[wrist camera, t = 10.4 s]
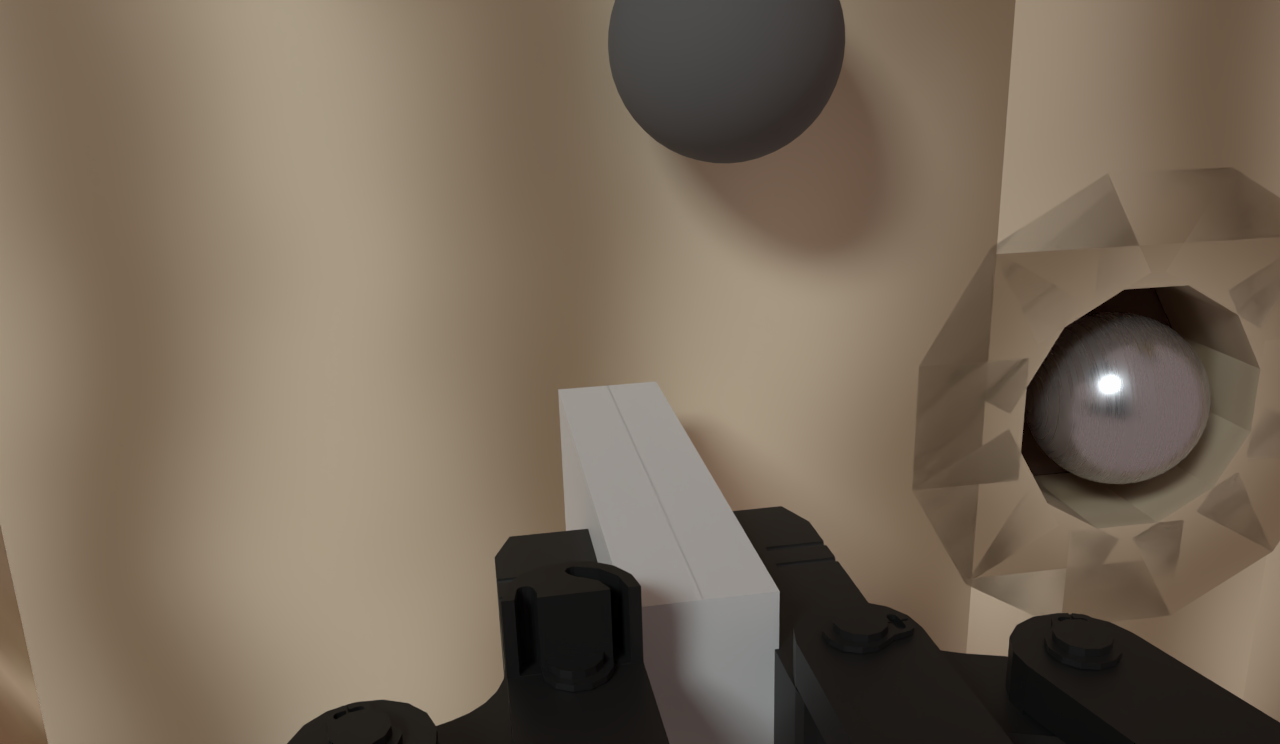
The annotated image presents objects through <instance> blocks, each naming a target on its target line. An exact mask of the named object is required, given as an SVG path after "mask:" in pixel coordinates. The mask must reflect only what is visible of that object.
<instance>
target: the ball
mask: <svg viewBox="0 0 1280 744" xmlns="http://www.w3.org/2000/svg"><path fill="white" fill-rule="evenodd" d="M844 51H845V23H844V17H843V10H842V7H841V3H840V0H615V2H614V6H613V9H612V13H611V17H610V24H609V30H608V53H609V63H610V68H611V72H612V77H613V80H614V83H615V85H616V88H617V91H618V93H619V95H620V97H621V99H622V101H623V103H624V105H625V107H626V108H627V110H628V111H629V113H630V114H631V116H632V117H633V119H634V120H635V121H636V122H637V123H638V124H639V125H640V126H641V127H642V129H643V130H644V131H645V132H646V133H647V134H649V135H650V136H651V137H652V138H653V139H654V140H656V141H657V142H658V143H660V144H662V145H663V146H665V147H666V148H668V149H669V150H671V151H674V152H676V153H678V154H680V155H682V156H685V157H688V158H692V159H695V160H699V161H705V162H711V163H738V162H745V161H749V160H753V159H757V158H760V157H763V156H765V155H768V154H770V153H773V152H775V151H777V150H779V149H781V148H782V147H784V146H786V145H788V144H789V143H791V142H792V141H793V140H795V139H796V138H797V137H799V136H800V135H801V134H802V133H803V132H804V131H805V130H806V129H807V128H808V127H810V126H811V124H812V123H813V122H814V121H815V120H816V118H817V117H818V116H819V115H820V114H821V112H822V110H823V109H824V107H825V106H826V104H827V103H828V101H829V99H830V97H831V95H832V93H833V91H834V89H835V87H836V84H837V81H838V78H839V75H840V72H841V68H842V63H843V59H844Z"/></svg>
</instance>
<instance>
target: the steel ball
mask: <svg viewBox="0 0 1280 744" xmlns="http://www.w3.org/2000/svg"><path fill="white" fill-rule="evenodd" d="M1210 403H1211V394H1210V386H1209V381H1208V377H1207V374H1206V371H1205V369H1204V366H1203V364H1202V362H1201V360H1200V358H1199V356H1198V355H1197V353H1196V352H1195V351H1194V349H1193V348H1192V347H1191V345H1190V344H1189V343H1188V342H1187V341H1186V340H1185V339H1184V338H1183V337H1182V336H1180V335H1179V334H1178V333H1177V332H1176V331H1174V330H1173V329H1171V328H1170V327H1168V326H1166V325H1165V324H1163V323H1161V322H1159V321H1156V320H1154V319H1152V318H1149V317H1145V316H1142V315H1138V314H1133V313H1127V312H1107V313H1098V314H1094V315H1090V316H1086V317H1083V318H1081V319H1078V320H1075V321H1074V322H1072V323H1071V324H1069V325H1068V326H1066V327H1064V329H1063V331H1062V332H1061V334H1060V335H1059V337H1058V339H1057V340H1056V342H1055V343H1054V345H1053V347H1052V348H1051V350H1050V351H1049V353H1048V355H1047V356H1046V358H1045V359H1044V361H1043V363H1042V364H1041V366H1040V367H1039V369H1038V370H1037V372H1036V374H1035V375H1034V377H1033V378H1032V380H1031V382H1030V383H1029V385H1028V386H1027V389H1026V401H1025V412H1024V413H1025V417H1026V421H1027V423H1028V426H1029V429H1030V431H1031V433H1032V435H1033V437H1034V439H1035V440H1036V442H1037V443H1038V445H1039V446H1040V448H1041V449H1042V450H1043V451H1044V452H1045V453H1046V454H1047V456H1048V457H1050V458H1051V459H1052V460H1053V461H1054V462H1055V463H1057V464H1058V465H1059V466H1061V467H1062V468H1064V469H1065V470H1067V471H1069V472H1070V473H1072V474H1075V475H1077V476H1079V477H1081V478H1084V479H1088V480H1091V481H1094V482H1099V483H1106V484H1129V483H1136V482H1140V481H1144V480H1148V479H1151V478H1154V477H1156V476H1159V475H1161V474H1163V473H1165V472H1166V471H1168V470H1170V469H1171V468H1173V467H1175V466H1176V465H1177V464H1178V463H1179V462H1181V461H1182V460H1183V459H1184V458H1185V457H1186V456H1187V455H1188V454H1189V453H1190V452H1191V451H1192V449H1193V448H1194V447H1195V446H1196V444H1197V442H1198V441H1199V439H1200V437H1201V436H1202V434H1203V432H1204V429H1205V427H1206V424H1207V420H1208V417H1209V412H1210Z"/></svg>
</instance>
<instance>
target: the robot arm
mask: <svg viewBox="0 0 1280 744" xmlns="http://www.w3.org/2000/svg"><path fill="white" fill-rule="evenodd" d="M558 395H559V413H560V431H561V450H562V468H563V486H564V504H565V522H566V531H560V532H550V533H540V534H530V535H520V536H511V537H509V538H508V539H507V541H506V542H505V543H504V545H503V546H502V548H501V549H500V550H499V552H498V553H497V555H496V556H495V570H496V582H497V595H498V608H499V621H500V634H501V647H502V659H503V671H504V679H503V681H502V683H501V685H500V687H499V688H498V690H497V692H496V693H495V694H494V695H493V696H492V697H491V698H490V699H489V700H488V701H487V702H486V703H484V704H483V705H481V706H479V707H478V708H476V709H475V710H473V711H472V712H470V713H468V714H466V715H463V716H461V717H459V718H456V719H454V720H452V721H449V722H446V723H443V724H440V725H437V726H436V725H435V724H434V722H433V721H432V719H431V718H430V716H429V715H428V713H427V712H425V711H423V710H421V709H419V708H417V707H415V706H413V705H411V704H409V703H404V702H397V701H390V700H373V701H360V702H354V703H351V704H347V705H345V706H344V705H343V706H341V707H338V708H335V709H332V710H329V711H327V712H325V713H323V714H322V715H320V716H318V717H316V718H315V719H313V720H311V721H310V722H308V723H306V724H305V725H303V726H302V727H301V729H300V730H299V731H298V732H297V733H296V734H295V735H294V736H293V737H292V739H291V740H290V741H289V742H288V743H287V744H1280V722H1278V721H1277V720H1275V719H1273V718H1272V717H1270V716H1268V715H1267V714H1265V713H1264V712H1262V711H1260V710H1259V709H1257V708H1255V707H1254V706H1252V705H1250V704H1249V703H1247V702H1246V701H1244V700H1242V699H1241V698H1239V697H1237V696H1236V695H1234V694H1232V693H1231V692H1229V691H1228V690H1226V689H1224V688H1223V687H1221V686H1219V685H1218V684H1216V683H1214V682H1213V681H1211V680H1210V679H1208V678H1206V677H1205V676H1203V675H1201V674H1200V673H1198V672H1196V671H1195V670H1193V669H1192V668H1190V667H1188V666H1187V665H1185V664H1183V663H1182V662H1180V661H1178V660H1177V659H1175V658H1174V657H1172V656H1170V655H1169V654H1167V653H1165V652H1164V651H1162V650H1160V649H1159V648H1157V647H1155V646H1154V645H1152V644H1151V643H1149V642H1147V641H1146V640H1144V639H1142V638H1141V637H1139V636H1137V635H1136V634H1134V633H1132V632H1130V631H1128V630H1126V629H1124V628H1122V627H1120V626H1117V625H1115V624H1113V623H1111V622H1108V621H1104V620H1100V619H1096V618H1092V617H1090V616H1088V615H1084V614H1076V613H1072V614H1069V613H1055V614H1048V615H1041V616H1034V617H1031V618H1029V619H1027V620H1025V621H1023V622H1021V623H1019V624H1017V625H1016V627H1015V628H1014V630H1013V632H1012V633H1011V635H1010V637H1009V649H1008V656H994V655H980V654H966V653H957V652H950V651H942V650H940V649H939V648H938V647H937V645H936V644H935V643H934V641H933V640H932V639H931V638H930V636H929V635H928V634H927V632H926V631H925V630H924V629H923V627H921V626H920V625H919V624H918V623H917V622H915V621H914V620H913V619H912V618H911V617H909V616H908V615H906V614H904V613H901V612H899V611H897V610H894V609H892V608H890V607H887V606H882V605H877V604H872V603H868V601H867V600H866V599H865V597H864V596H863V595H862V593H861V592H860V590H859V589H858V588H857V586H856V585H855V584H854V582H853V581H852V579H851V578H850V577H849V575H848V574H847V573H846V571H845V570H844V568H843V567H842V566H841V564H840V563H839V562H838V561H836V560H835V556H834V555H833V553H832V552H831V551H830V549H829V548H828V547H827V545H824V541H823V540H822V538H821V537H820V536H819V534H818V533H817V531H816V530H815V529H814V527H813V526H812V525H811V523H810V522H809V521H807V520H806V519H804V518H802V517H800V516H798V515H797V514H795V513H793V512H791V511H789V510H788V509H786V508H784V507H782V506H777V507H768V508H758V509H748V510H738V511H732V510H731V508H730V506H729V504H728V503H727V501H726V499H725V498H724V496H723V494H722V493H721V491H720V489H719V487H718V486H717V484H716V482H715V481H714V479H713V477H712V476H711V474H710V472H709V470H708V469H707V467H706V465H705V464H704V462H703V460H702V459H701V457H700V455H699V453H698V452H697V450H696V448H695V447H694V445H693V443H692V442H691V440H690V438H689V436H688V435H687V433H686V431H685V430H684V428H683V426H682V425H681V423H680V421H679V419H678V418H677V416H676V414H675V413H674V411H673V409H672V408H671V406H670V404H669V402H668V401H667V399H666V397H665V396H664V394H663V392H662V391H661V389H660V387H659V385H658V384H657V382H644V383H632V384H619V385H607V386H595V387H583V388H571V389H558Z"/></svg>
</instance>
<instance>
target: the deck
mask: <svg viewBox="0 0 1280 744" xmlns="http://www.w3.org/2000/svg"><path fill="white" fill-rule="evenodd" d="M614 2H615V0H0V525H1V529H2V534H3V538H4V543H5V548H6V552H7V557H8V561H9V566H10V570H11V575H12V580H13V584H14V589H15V593H16V598H17V603H18V607H19V612H20V616H21V621H22V625H23V630H24V635H25V639H26V644H27V648H28V653H29V657H30V662H31V667H32V671H33V676H34V680H35V685H36V690H37V694H38V699H39V703H40V708H41V712H42V717H43V722H44V726H45V731H46V735H47V740H48V744H287V743H288V742H289V741H290V740H291V739H292V737H293V736H294V735H295V734H296V733H297V732H298V731H299V730H300V729H301V727H302V726H303V725H305V724H306V723H308V722H310V721H311V720H313V719H315V718H316V717H318V716H320V715H322V714H323V713H325V712H327V711H329V710H332V709H335V708H338V707H341V706H343V705H344V706H345V705H347V704H351V703H354V702H360V701H373V700H390V701H397V702H404V703H409V704H411V705H413V706H415V707H417V708H419V709H421V710H423V711H425V712H427V713H428V715H429V716H430V718H431V719H432V721H433V722H434V724H435V725H436V726H437V725H440V724H443V723H446V722H449V721H452V720H454V719H456V718H459V717H461V716H463V715H466V714H468V713H470V712H472V711H473V710H475V709H476V708H478V707H479V706H481V705H483V704H484V703H486V702H487V701H488V700H489V699H490V698H491V697H492V696H493V695H494V694H495V693H496V692H497V690H498V688H499V687H500V685H501V683H502V681H503V679H504V671H503V659H502V647H501V634H500V621H499V608H498V595H497V582H496V570H495V556H496V555H497V553H498V552H499V550H500V549H501V548H502V546H503V545H504V543H505V542H506V541H507V539H508V538H509V537H511V536H520V535H530V534H540V533H550V532H560V531H566V522H565V504H564V486H563V468H562V450H561V431H560V413H559V395H558V389H571V388H583V387H595V386H607V385H619V384H632V383H644V382H657V384H658V385H659V387H660V389H661V391H662V392H663V394H664V396H665V397H666V399H667V401H668V402H669V404H670V406H671V408H672V409H673V411H674V413H675V414H676V416H677V418H678V419H679V421H680V423H681V425H682V426H683V428H684V430H685V431H686V433H687V435H688V436H689V438H690V440H691V442H692V443H693V445H694V447H695V448H696V450H697V452H698V453H699V455H700V457H701V459H702V460H703V462H704V464H705V465H706V467H707V469H708V470H709V472H710V474H711V476H712V477H713V479H714V481H715V482H716V484H717V486H718V487H719V489H720V491H721V493H722V494H723V496H724V498H725V499H726V501H727V503H728V504H729V506H730V508H731V510H732V511H738V510H748V509H758V508H768V507H777V506H782V507H784V508H786V509H788V510H789V511H791V512H793V513H795V514H797V515H798V516H800V517H802V518H804V519H806V520H807V521H809V522H810V523H811V525H812V526H813V527H814V529H815V530H816V531H817V533H818V534H819V536H820V537H821V538H822V540H823V541H824V545H827V547H828V548H829V549H830V551H831V552H832V553H833V555H834V556H835V560H836V561H838V562H839V563H840V564H841V566H842V567H843V568H844V570H845V571H846V573H847V574H848V575H849V577H850V578H851V579H852V581H853V582H854V584H855V585H856V586H857V588H858V589H859V590H860V592H861V593H862V595H863V596H864V597H865V599H866V600H867V601H868V603H872V604H877V605H882V606H887V607H890V608H892V609H894V610H897V611H899V612H901V613H904V614H906V615H908V616H909V617H911V618H912V619H913V620H914V621H915V622H917V623H918V624H919V625H920V626H921V627H923V629H924V630H925V631H926V632H927V634H928V635H929V636H930V638H931V639H932V640H933V641H934V643H935V644H936V645H937V647H938V648H939V649H940V650H942V651H950V652H957V653H966V654H980V655H994V656H1008V649H1009V637H1010V635H1011V633H1012V632H1013V630H1014V628H1015V627H1016V625H1017V624H1019V623H1021V622H1023V621H1025V620H1027V619H1029V618H1031V617H1034V616H1041V615H1048V614H1055V613H1069V614H1072V613H1076V614H1084V615H1088V616H1090V617H1092V618H1096V619H1100V620H1104V621H1108V622H1111V623H1113V624H1115V625H1117V626H1120V627H1122V628H1124V629H1126V630H1128V631H1130V632H1132V633H1134V634H1136V635H1137V636H1139V637H1141V638H1142V639H1144V640H1146V641H1147V642H1149V643H1151V644H1152V645H1154V646H1155V647H1157V648H1159V649H1160V650H1162V651H1164V652H1165V653H1167V654H1169V655H1170V656H1172V657H1174V658H1175V659H1177V660H1178V661H1180V662H1182V663H1183V664H1185V665H1187V666H1188V667H1190V668H1192V669H1193V670H1195V671H1196V672H1198V673H1200V674H1201V675H1203V676H1205V677H1206V678H1208V679H1210V680H1211V681H1213V682H1214V683H1216V684H1218V685H1219V686H1221V687H1223V688H1224V689H1226V690H1228V691H1229V692H1231V693H1232V694H1234V695H1236V696H1237V697H1239V698H1241V699H1242V700H1244V701H1246V702H1247V703H1249V704H1250V705H1252V706H1254V707H1255V708H1257V709H1259V710H1260V711H1262V712H1264V713H1265V714H1267V715H1268V716H1270V717H1272V718H1273V719H1275V720H1277V721H1278V722H1280V0H840V3H841V7H842V10H843V17H844V23H845V51H844V59H843V63H842V68H841V72H840V75H839V78H838V81H837V84H836V87H835V89H834V91H833V93H832V95H831V97H830V99H829V101H828V103H827V104H826V106H825V107H824V109H823V110H822V112H821V114H820V115H819V116H818V117H817V118H816V120H815V121H814V122H813V123H812V124H811V126H810V127H808V128H807V129H806V130H805V131H804V132H803V133H802V134H801V135H800V136H799V137H797V138H796V139H795V140H793V141H792V142H791V143H789V144H788V145H786V146H784V147H782V148H781V149H779V150H777V151H775V152H773V153H770V154H768V155H765V156H763V157H760V158H757V159H753V160H749V161H745V162H738V163H711V162H705V161H699V160H695V159H692V158H688V157H685V156H682V155H680V154H678V153H676V152H674V151H671V150H669V149H668V148H666V147H665V146H663V145H662V144H660V143H658V142H657V141H656V140H654V139H653V138H652V137H651V136H650V135H649V134H647V133H646V132H645V131H644V130H643V129H642V127H641V126H640V125H639V124H638V123H637V122H636V121H635V120H634V119H633V117H632V116H631V114H630V113H629V111H628V110H627V108H626V107H625V105H624V103H623V101H622V99H621V97H620V95H619V93H618V91H617V88H616V85H615V83H614V80H613V77H612V72H611V68H610V63H609V53H608V30H609V24H610V17H611V13H612V9H613V6H614ZM1139 288H1155V290H1156V293H1157V295H1158V297H1159V300H1160V302H1161V304H1162V306H1163V309H1164V311H1165V313H1166V316H1167V318H1168V320H1169V322H1170V325H1171V327H1172V329H1173V330H1174V331H1176V332H1177V333H1178V334H1179V335H1180V336H1182V337H1183V338H1184V339H1185V340H1186V341H1187V342H1188V343H1189V344H1190V345H1191V347H1192V348H1193V349H1194V351H1195V352H1196V353H1197V355H1198V356H1199V358H1200V360H1201V362H1202V364H1203V366H1204V369H1205V371H1206V374H1207V377H1208V381H1209V386H1210V394H1211V403H1210V412H1209V417H1208V420H1207V424H1206V427H1205V429H1204V432H1203V434H1202V436H1201V437H1200V439H1199V441H1198V442H1197V444H1196V446H1195V447H1194V448H1193V449H1192V451H1191V452H1190V453H1189V454H1188V455H1187V456H1186V457H1185V458H1184V459H1183V460H1182V461H1181V462H1179V463H1178V464H1177V465H1176V466H1175V467H1173V468H1171V469H1170V470H1168V471H1166V472H1165V473H1163V474H1161V475H1159V476H1156V477H1154V478H1151V479H1148V480H1144V481H1140V482H1136V483H1129V484H1106V483H1099V482H1094V481H1091V480H1088V479H1084V478H1081V477H1079V476H1077V475H1075V474H1072V473H1060V474H1049V475H1038V476H1033V475H1032V473H1031V471H1030V469H1029V467H1028V465H1027V463H1026V461H1025V459H1024V457H1023V456H1022V454H1021V447H1022V435H1023V424H1024V412H1025V401H1026V389H1027V386H1028V385H1029V383H1030V382H1031V380H1032V378H1033V377H1034V375H1035V374H1036V372H1037V370H1038V369H1039V367H1040V366H1041V364H1042V363H1043V361H1044V359H1045V358H1046V356H1047V355H1048V353H1049V351H1050V350H1051V348H1052V347H1053V345H1054V343H1055V342H1056V340H1057V339H1058V337H1059V335H1060V334H1061V332H1062V331H1063V329H1064V327H1066V326H1068V325H1069V324H1071V323H1072V322H1074V321H1075V320H1077V319H1079V318H1080V317H1082V316H1083V315H1085V314H1086V313H1088V312H1090V311H1091V310H1093V309H1094V308H1096V307H1098V306H1099V305H1101V304H1102V303H1104V302H1105V301H1107V300H1109V299H1110V298H1112V297H1113V296H1115V295H1116V294H1118V293H1120V292H1121V291H1123V290H1124V289H1139Z"/></svg>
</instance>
